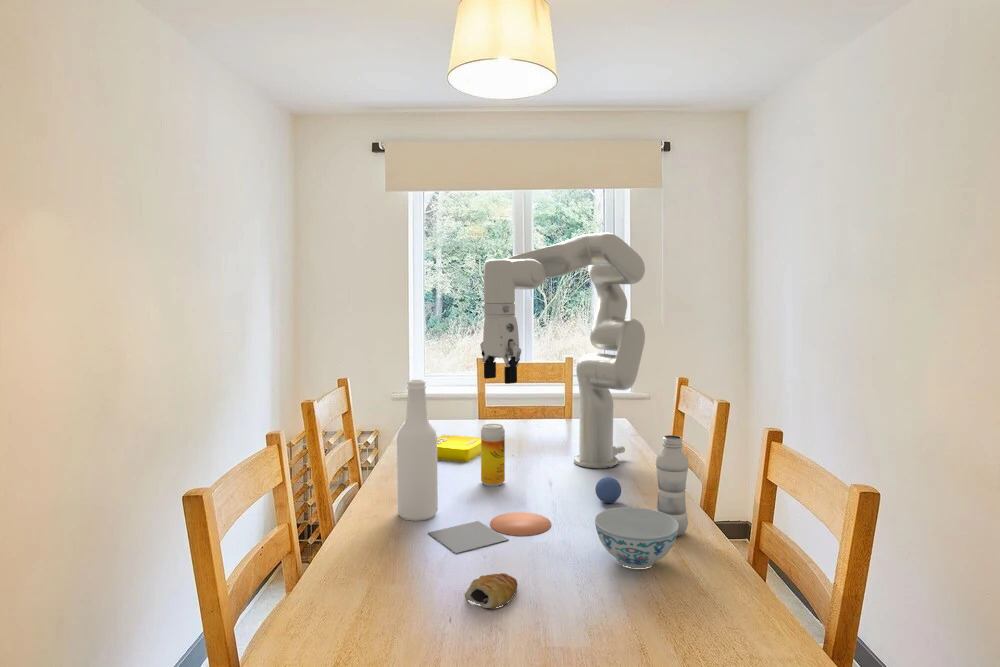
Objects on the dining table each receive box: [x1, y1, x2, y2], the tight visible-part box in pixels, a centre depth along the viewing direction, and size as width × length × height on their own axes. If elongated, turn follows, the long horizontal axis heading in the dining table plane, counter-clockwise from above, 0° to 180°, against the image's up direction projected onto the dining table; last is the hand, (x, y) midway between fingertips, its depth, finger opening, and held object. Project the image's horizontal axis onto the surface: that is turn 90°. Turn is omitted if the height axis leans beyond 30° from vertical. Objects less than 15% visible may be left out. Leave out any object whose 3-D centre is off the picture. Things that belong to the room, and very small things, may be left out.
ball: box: [594, 476, 622, 504], centre depth 149 cm, size 6×6×6 cm
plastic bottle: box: [655, 434, 689, 537], centre depth 129 cm, size 6×7×20 cm
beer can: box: [480, 423, 506, 487], centre depth 163 cm, size 6×6×15 cm
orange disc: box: [489, 511, 552, 537], centre depth 135 cm, size 13×13×1 cm
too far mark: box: [427, 520, 510, 555], centre depth 128 cm, size 12×12×1 cm
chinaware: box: [594, 506, 679, 568], centre depth 116 cm, size 15×15×8 cm
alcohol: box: [396, 379, 439, 522], centre depth 140 cm, size 9×9×30 cm
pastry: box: [464, 572, 519, 609], centre depth 104 cm, size 9×7×4 cm
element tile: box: [437, 434, 481, 463], centre depth 192 cm, size 15×15×5 cm
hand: (500, 380), depth 155 cm, fingers open, 9 cm apart
